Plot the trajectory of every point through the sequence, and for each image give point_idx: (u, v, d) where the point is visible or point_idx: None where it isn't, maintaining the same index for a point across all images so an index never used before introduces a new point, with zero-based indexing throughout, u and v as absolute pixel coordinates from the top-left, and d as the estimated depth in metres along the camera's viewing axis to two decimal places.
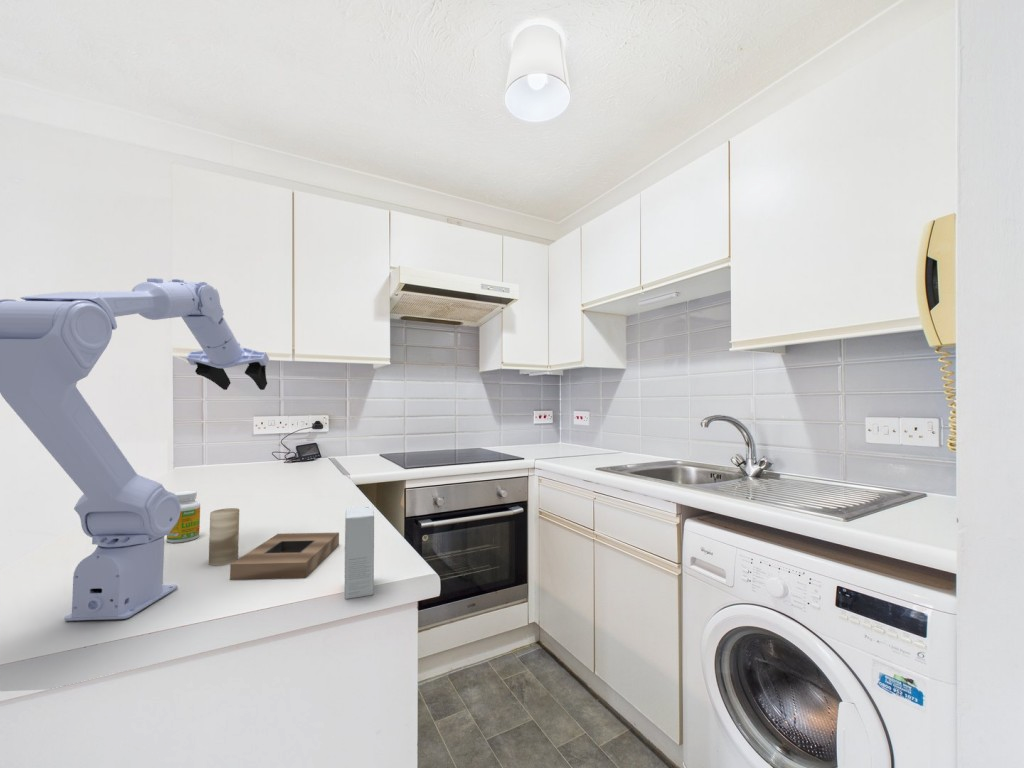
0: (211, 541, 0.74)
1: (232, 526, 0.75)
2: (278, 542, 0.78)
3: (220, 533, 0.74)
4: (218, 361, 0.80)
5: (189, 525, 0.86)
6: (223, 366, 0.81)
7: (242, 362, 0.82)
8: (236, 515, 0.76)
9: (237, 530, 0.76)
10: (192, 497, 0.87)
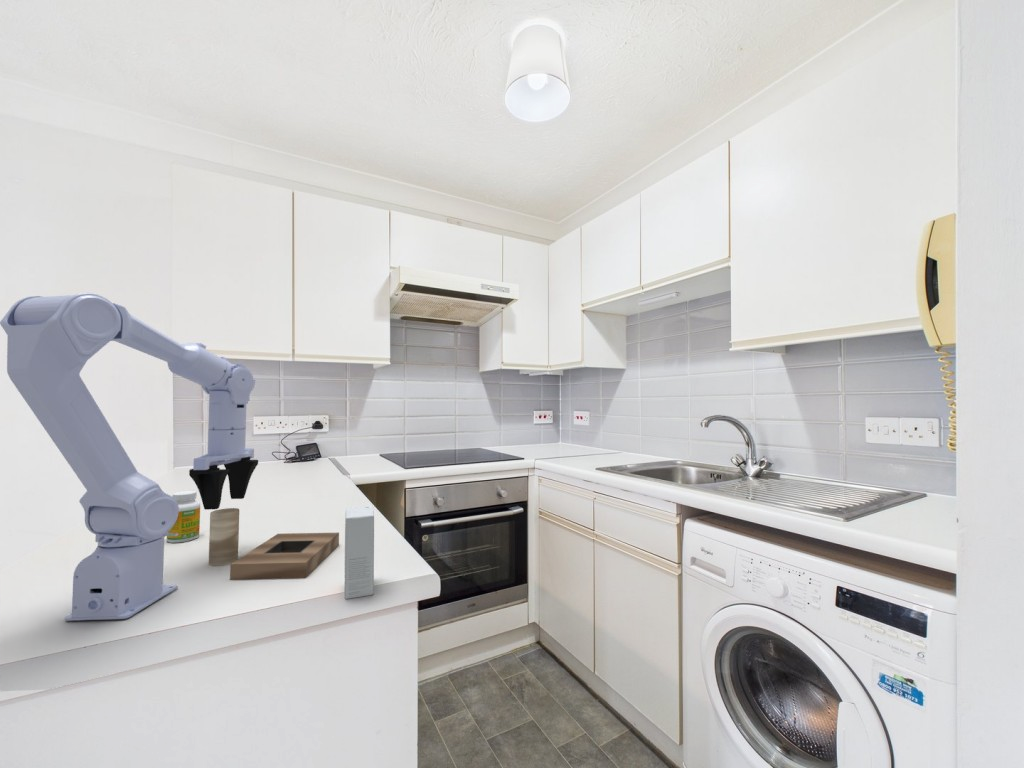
0: (211, 541, 0.74)
1: (232, 526, 0.75)
2: (278, 542, 0.78)
3: (220, 533, 0.74)
4: None
5: (189, 525, 0.86)
6: None
7: None
8: (236, 515, 0.76)
9: (237, 530, 0.76)
10: (192, 497, 0.87)
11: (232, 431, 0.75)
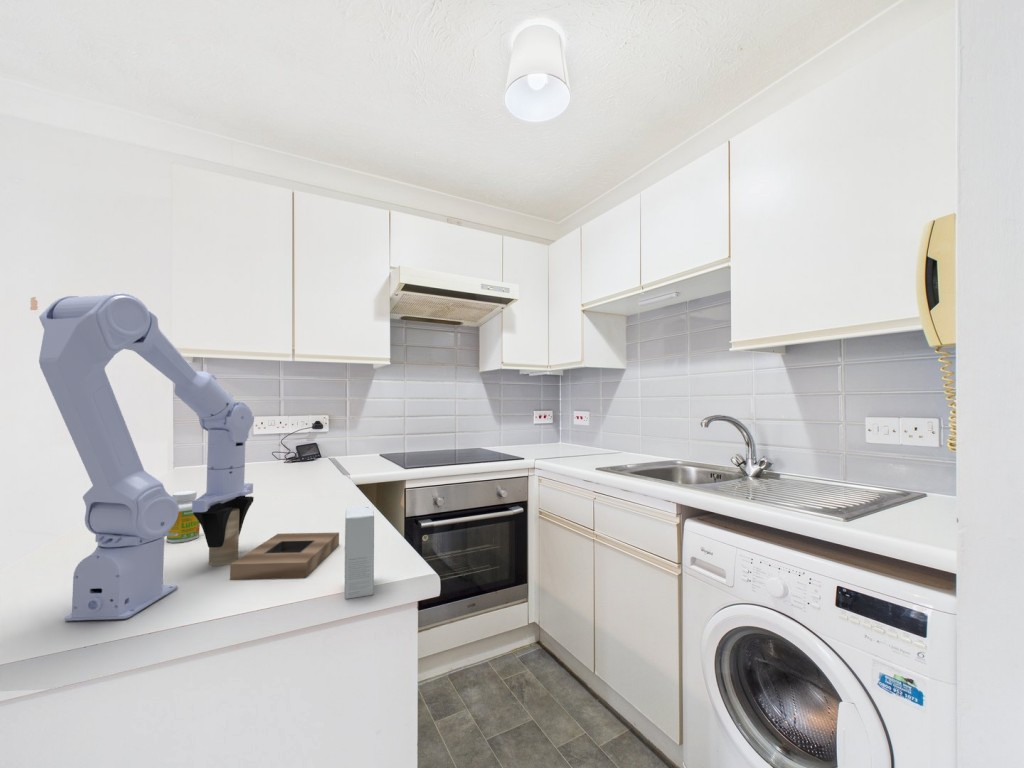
0: None
1: (232, 526, 0.75)
2: (278, 542, 0.78)
3: None
4: None
5: (189, 525, 0.86)
6: None
7: None
8: (236, 515, 0.76)
9: (237, 530, 0.76)
10: (192, 497, 0.87)
11: (231, 470, 0.74)
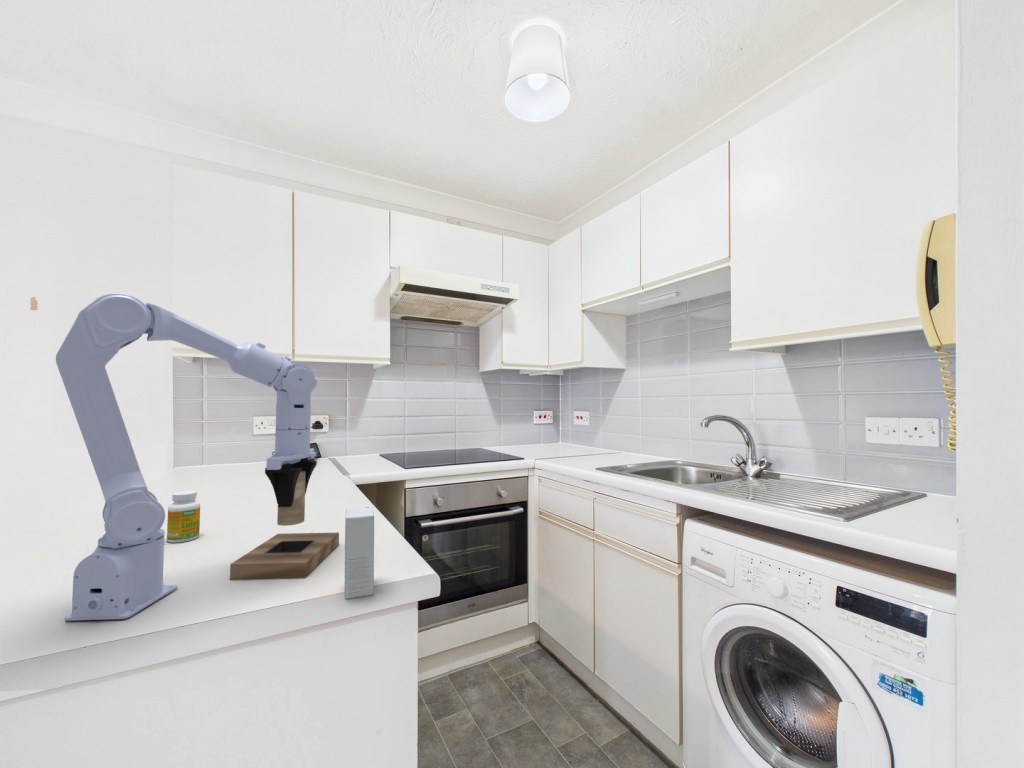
0: None
1: (300, 487, 0.75)
2: (278, 542, 0.78)
3: None
4: None
5: (189, 525, 0.86)
6: None
7: None
8: (303, 476, 0.76)
9: (304, 491, 0.77)
10: (192, 497, 0.87)
11: (299, 431, 0.75)
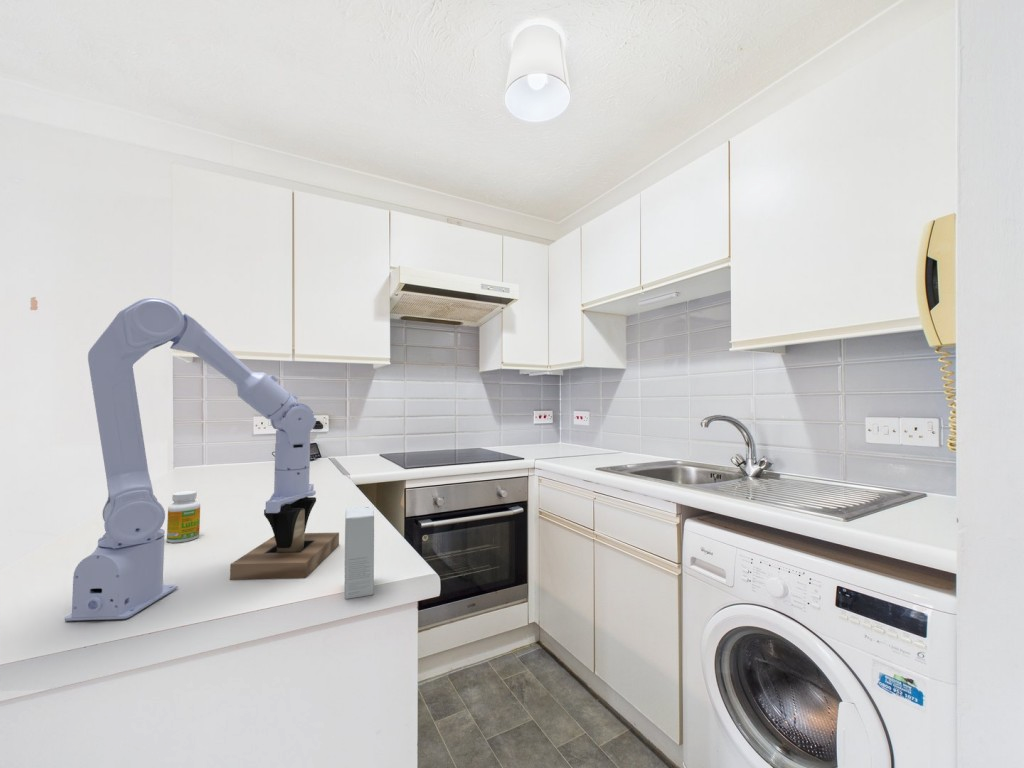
0: None
1: (299, 526, 0.75)
2: None
3: None
4: None
5: (189, 525, 0.86)
6: None
7: (270, 498, 0.72)
8: (302, 515, 0.76)
9: (303, 530, 0.76)
10: (192, 497, 0.87)
11: (299, 471, 0.75)
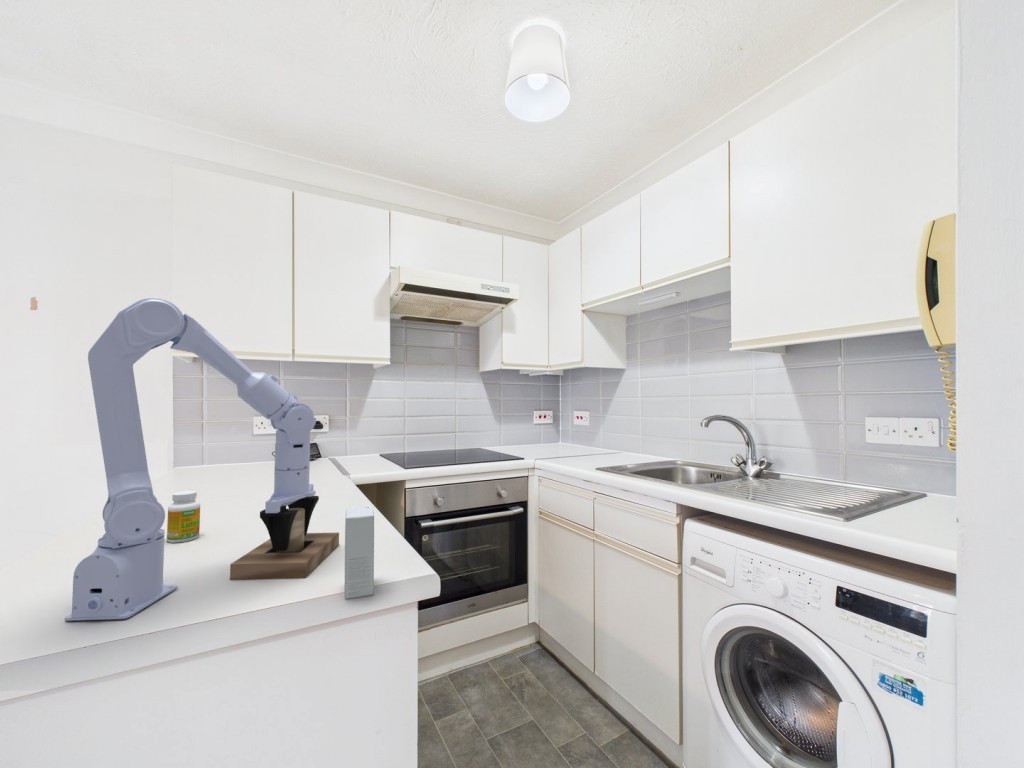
0: None
1: (299, 526, 0.75)
2: None
3: None
4: None
5: (189, 525, 0.86)
6: (273, 494, 0.76)
7: (270, 498, 0.72)
8: (302, 515, 0.76)
9: (303, 530, 0.76)
10: (192, 497, 0.87)
11: (299, 471, 0.75)
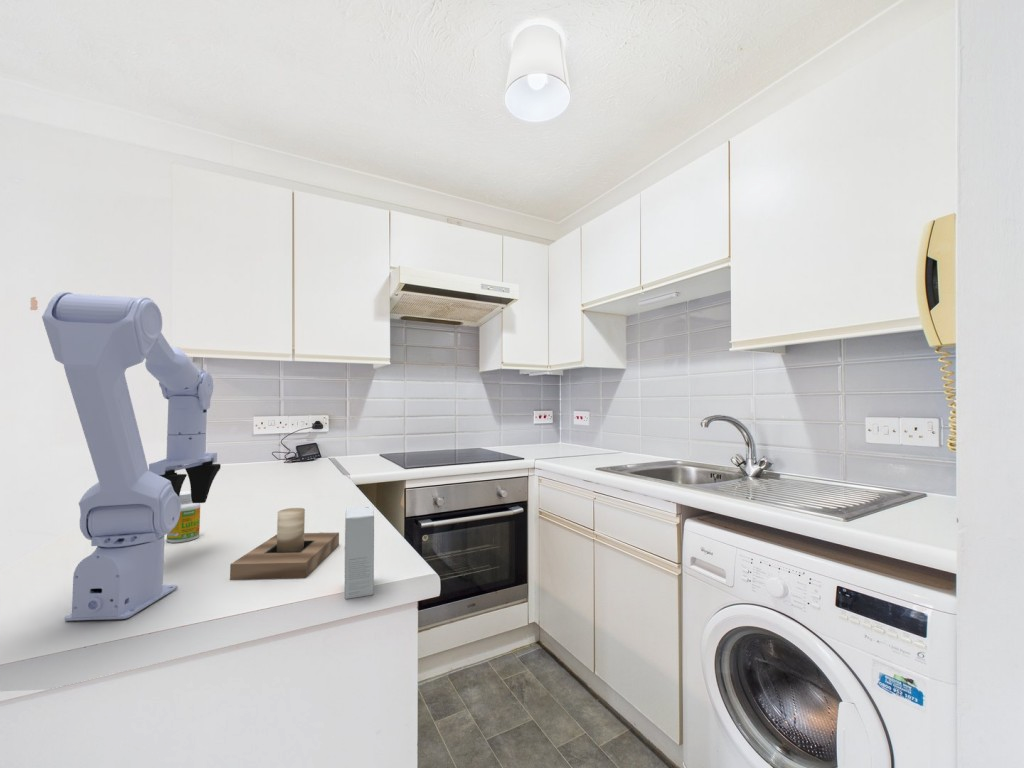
0: (279, 541, 0.74)
1: (299, 526, 0.75)
2: None
3: (288, 532, 0.74)
4: None
5: (189, 525, 0.86)
6: None
7: None
8: (302, 515, 0.76)
9: (303, 530, 0.76)
10: None
11: (191, 436, 0.75)
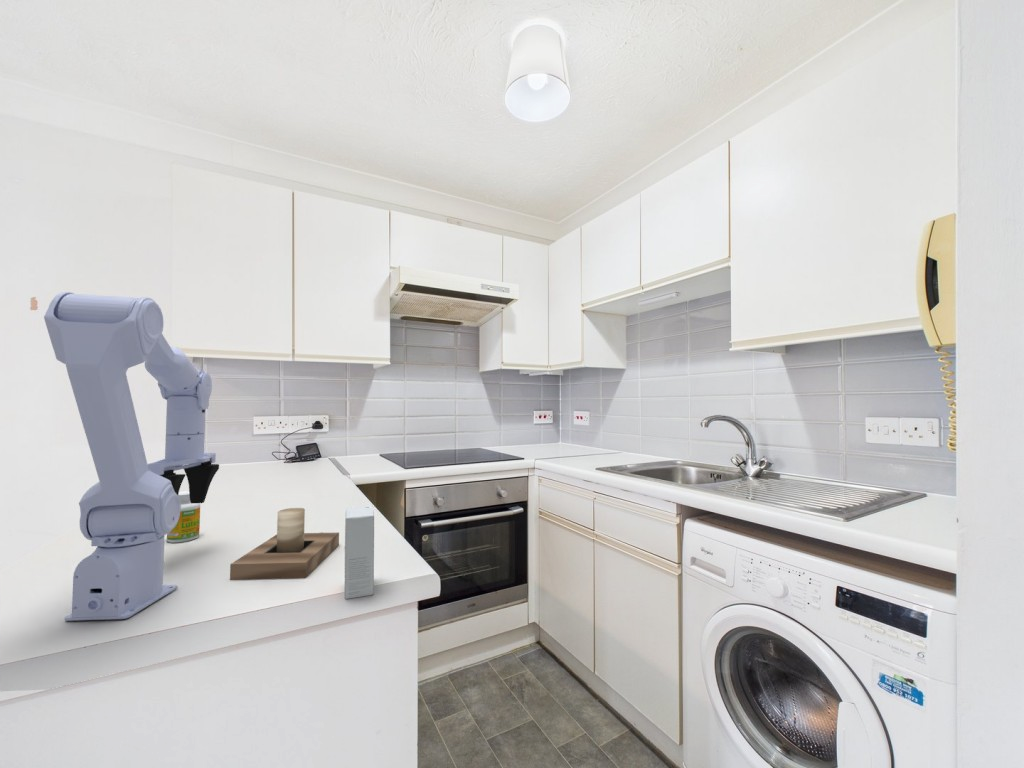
0: (279, 541, 0.74)
1: (299, 526, 0.75)
2: None
3: (288, 532, 0.74)
4: None
5: (189, 525, 0.86)
6: None
7: None
8: (302, 515, 0.76)
9: (303, 530, 0.76)
10: None
11: (189, 436, 0.75)
